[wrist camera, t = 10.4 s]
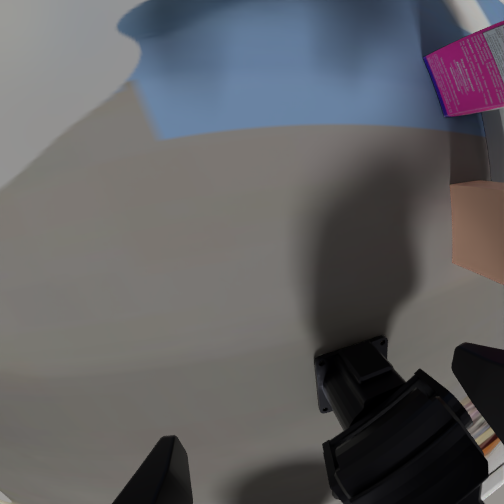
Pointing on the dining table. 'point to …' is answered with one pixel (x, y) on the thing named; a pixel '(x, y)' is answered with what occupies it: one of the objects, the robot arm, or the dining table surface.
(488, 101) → the supplement box
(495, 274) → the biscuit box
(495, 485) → the white chamfered bar
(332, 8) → the dining table surface
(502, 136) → the curved grey bar
